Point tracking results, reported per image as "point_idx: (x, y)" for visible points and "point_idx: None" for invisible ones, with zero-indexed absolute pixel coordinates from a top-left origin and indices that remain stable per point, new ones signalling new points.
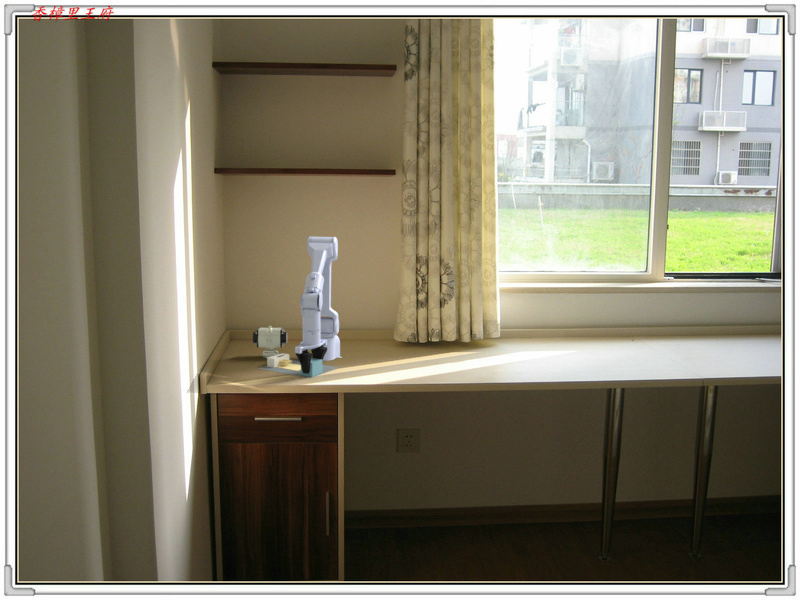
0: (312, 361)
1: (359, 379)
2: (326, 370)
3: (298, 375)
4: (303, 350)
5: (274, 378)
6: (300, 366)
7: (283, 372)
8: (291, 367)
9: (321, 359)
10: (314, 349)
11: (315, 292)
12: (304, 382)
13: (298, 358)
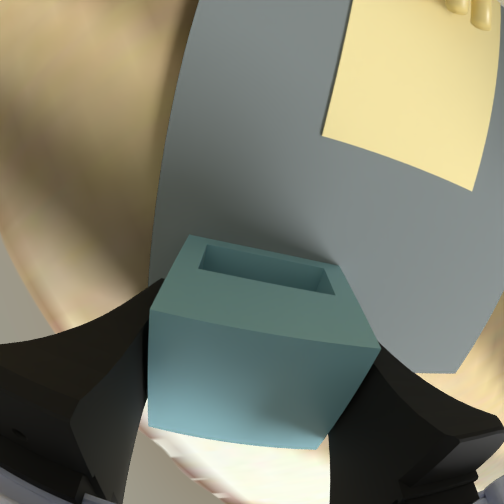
0: (203, 417)
1: (283, 472)
2: (387, 349)
3: (165, 222)
4: (21, 489)
5: (89, 45)
6: (461, 117)
7: (212, 37)
8: (409, 45)
9: (318, 444)
10: (393, 477)
11: None
12: (96, 303)
13: (53, 341)
